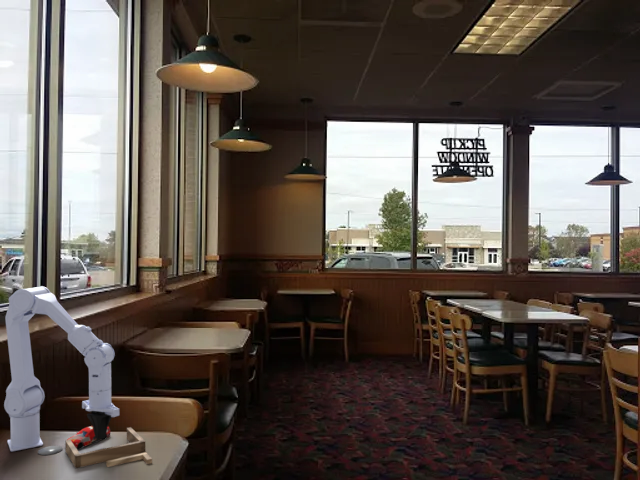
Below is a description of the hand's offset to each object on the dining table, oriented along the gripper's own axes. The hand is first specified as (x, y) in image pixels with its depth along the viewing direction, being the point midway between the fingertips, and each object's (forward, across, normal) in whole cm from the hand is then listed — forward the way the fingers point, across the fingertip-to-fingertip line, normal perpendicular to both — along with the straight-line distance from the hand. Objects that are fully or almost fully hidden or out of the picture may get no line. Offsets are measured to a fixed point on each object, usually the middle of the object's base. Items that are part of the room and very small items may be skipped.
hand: (100, 438), depth 154 cm
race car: (+3, -6, 0) cm, 7 cm away
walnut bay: (+2, +5, -2) cm, 6 cm away
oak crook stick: (+2, +17, -3) cm, 18 cm away
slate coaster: (+2, -9, -9) cm, 13 cm away
